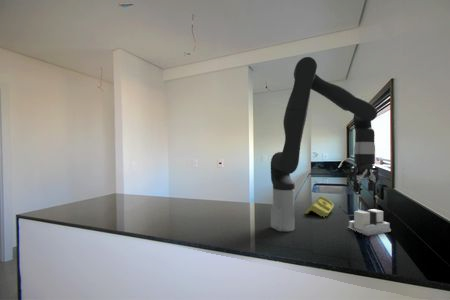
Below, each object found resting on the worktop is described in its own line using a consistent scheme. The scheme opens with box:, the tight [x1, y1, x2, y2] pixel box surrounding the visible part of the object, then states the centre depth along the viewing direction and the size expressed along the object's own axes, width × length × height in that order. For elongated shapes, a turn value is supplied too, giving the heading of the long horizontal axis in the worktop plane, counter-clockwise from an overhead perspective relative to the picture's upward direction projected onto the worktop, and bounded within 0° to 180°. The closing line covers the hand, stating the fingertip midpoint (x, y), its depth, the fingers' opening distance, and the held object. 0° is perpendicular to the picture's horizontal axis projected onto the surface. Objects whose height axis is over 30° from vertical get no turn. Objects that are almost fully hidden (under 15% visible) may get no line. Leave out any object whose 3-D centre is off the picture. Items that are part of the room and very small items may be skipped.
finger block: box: [353, 209, 370, 230], centre depth 97 cm, size 5×4×7 cm
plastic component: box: [304, 195, 335, 218], centre depth 127 cm, size 20×7×10 cm
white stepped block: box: [347, 208, 392, 236], centre depth 98 cm, size 14×9×8 cm, turn 112°
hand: (363, 191), depth 97 cm, fingers open, 8 cm apart
